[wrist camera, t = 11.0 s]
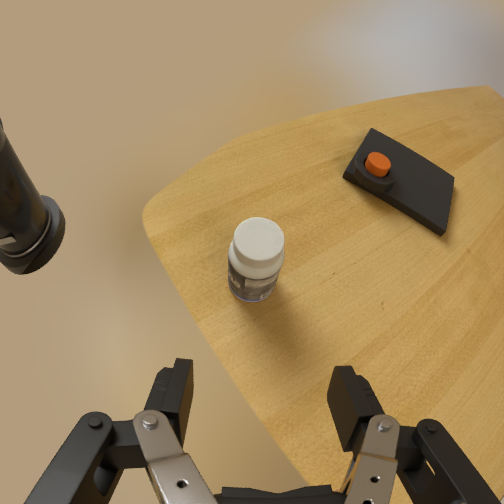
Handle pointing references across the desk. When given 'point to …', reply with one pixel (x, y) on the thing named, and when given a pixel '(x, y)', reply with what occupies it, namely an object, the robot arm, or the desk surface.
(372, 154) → the button
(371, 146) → the black flat block
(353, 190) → the desk surface
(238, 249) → the pill bottle
